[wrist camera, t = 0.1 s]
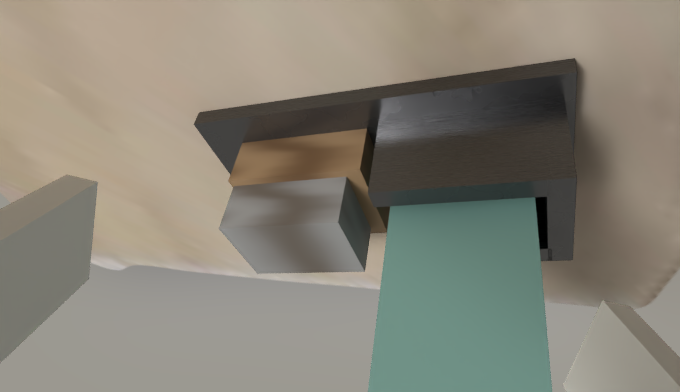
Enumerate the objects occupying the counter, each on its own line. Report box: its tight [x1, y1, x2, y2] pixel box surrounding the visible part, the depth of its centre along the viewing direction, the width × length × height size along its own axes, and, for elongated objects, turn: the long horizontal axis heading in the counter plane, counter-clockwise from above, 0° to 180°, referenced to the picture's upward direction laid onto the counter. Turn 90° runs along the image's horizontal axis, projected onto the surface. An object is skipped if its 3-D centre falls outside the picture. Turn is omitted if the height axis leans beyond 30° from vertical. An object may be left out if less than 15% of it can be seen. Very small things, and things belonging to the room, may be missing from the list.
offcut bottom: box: [229, 129, 390, 233], centre depth 31 cm, size 8×6×3 cm
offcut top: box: [219, 177, 371, 274], centre depth 30 cm, size 7×5×3 cm
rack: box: [194, 58, 577, 261], centre depth 30 cm, size 21×10×6 cm, turn 108°
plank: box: [368, 197, 552, 392], centre depth 23 cm, size 7×4×20 cm, turn 108°
